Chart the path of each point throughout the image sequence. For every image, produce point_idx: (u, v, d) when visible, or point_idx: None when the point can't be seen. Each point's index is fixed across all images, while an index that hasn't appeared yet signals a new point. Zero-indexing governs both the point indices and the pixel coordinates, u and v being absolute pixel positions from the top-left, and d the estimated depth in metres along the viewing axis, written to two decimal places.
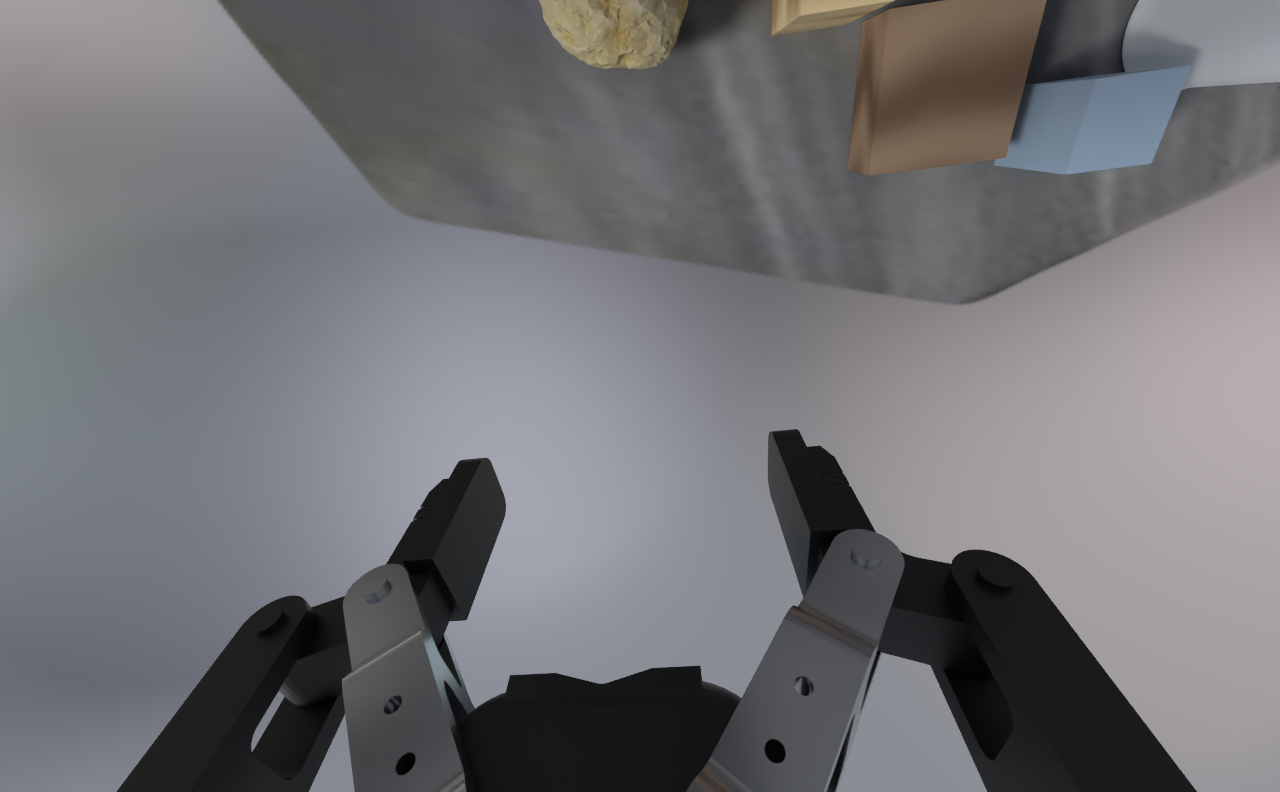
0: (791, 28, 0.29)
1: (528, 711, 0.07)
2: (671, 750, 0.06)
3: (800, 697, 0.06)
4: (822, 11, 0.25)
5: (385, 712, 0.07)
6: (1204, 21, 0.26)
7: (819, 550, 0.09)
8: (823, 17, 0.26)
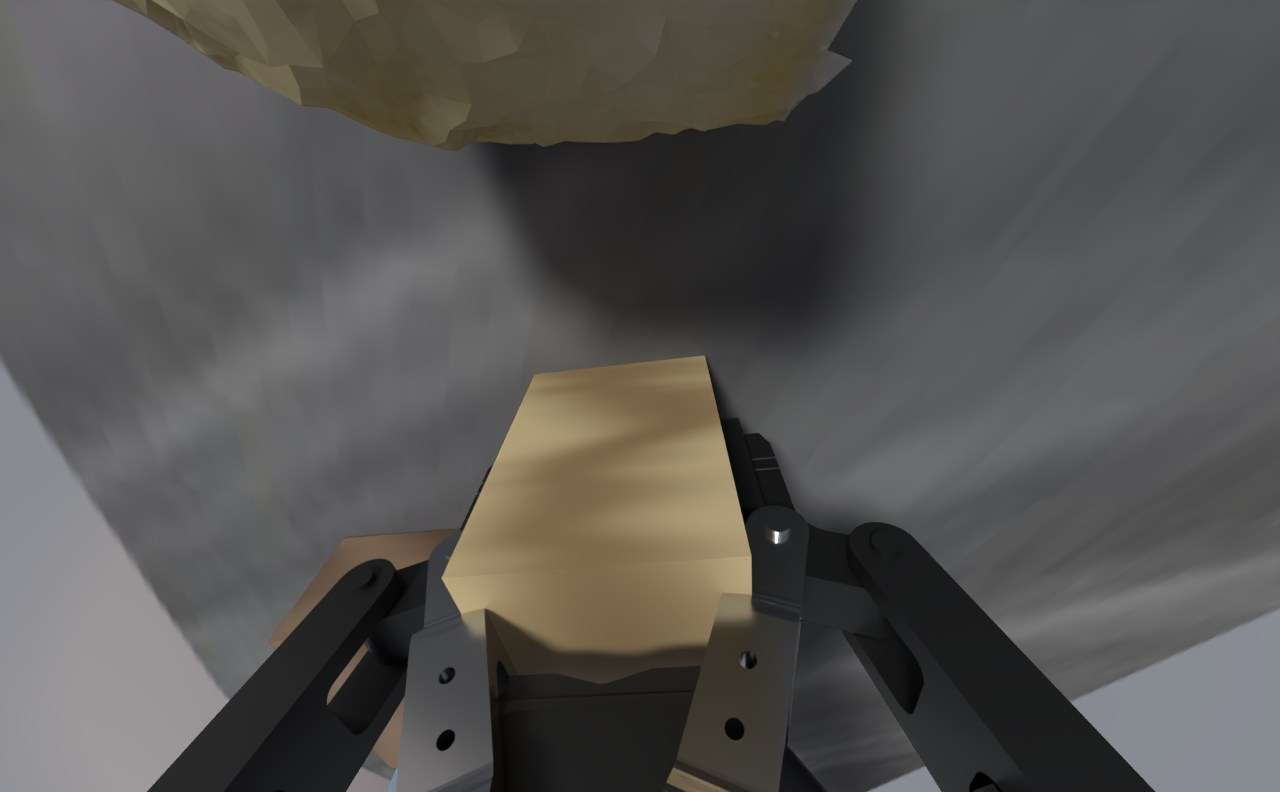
0: None
1: (528, 711, 0.07)
2: (671, 750, 0.06)
3: (747, 671, 0.06)
4: None
5: (439, 681, 0.07)
6: None
7: None
8: None
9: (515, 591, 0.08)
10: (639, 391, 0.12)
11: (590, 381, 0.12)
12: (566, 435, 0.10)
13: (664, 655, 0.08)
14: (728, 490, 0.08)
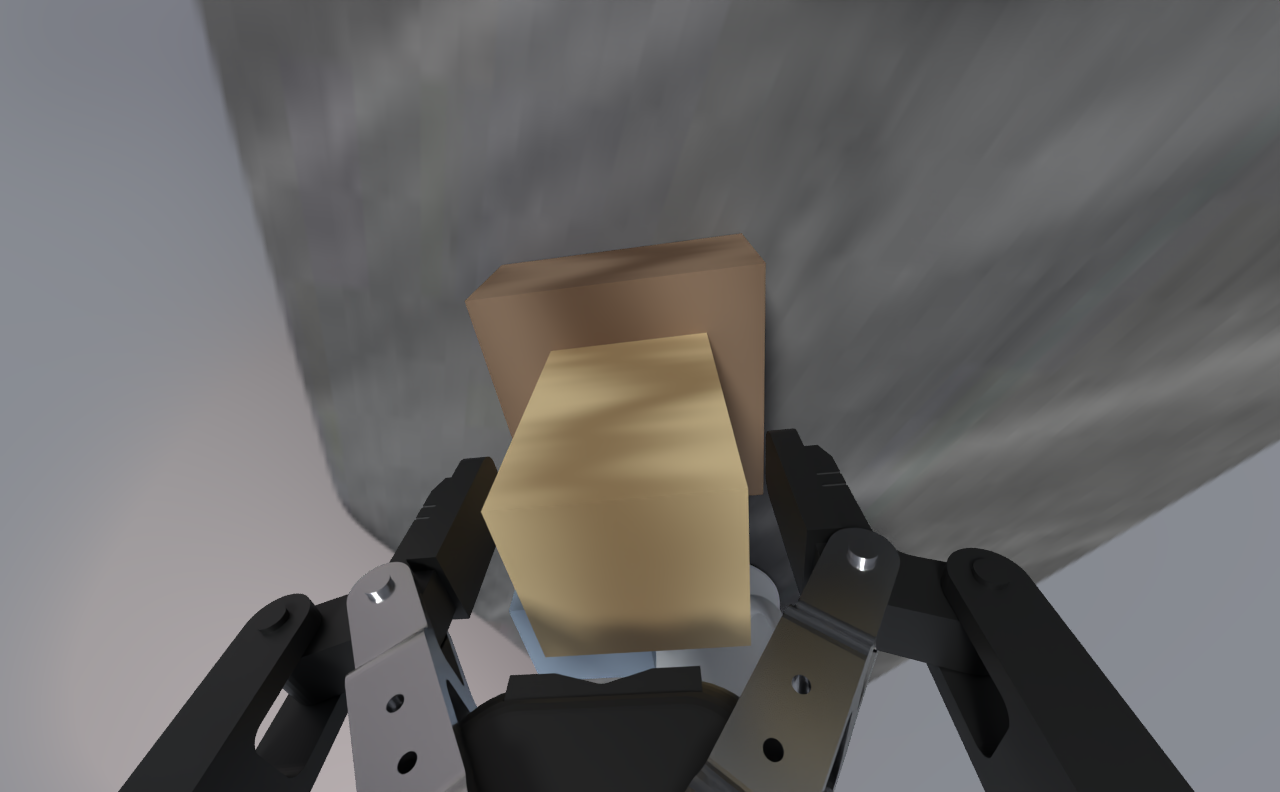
0: None
1: (528, 711, 0.07)
2: (671, 750, 0.06)
3: (797, 696, 0.06)
4: (502, 551, 0.09)
5: (387, 711, 0.07)
6: None
7: (816, 549, 0.09)
8: None
9: (544, 524, 0.09)
10: (647, 363, 0.13)
11: (602, 356, 0.14)
12: (583, 401, 0.12)
13: (672, 586, 0.10)
14: (728, 440, 0.09)
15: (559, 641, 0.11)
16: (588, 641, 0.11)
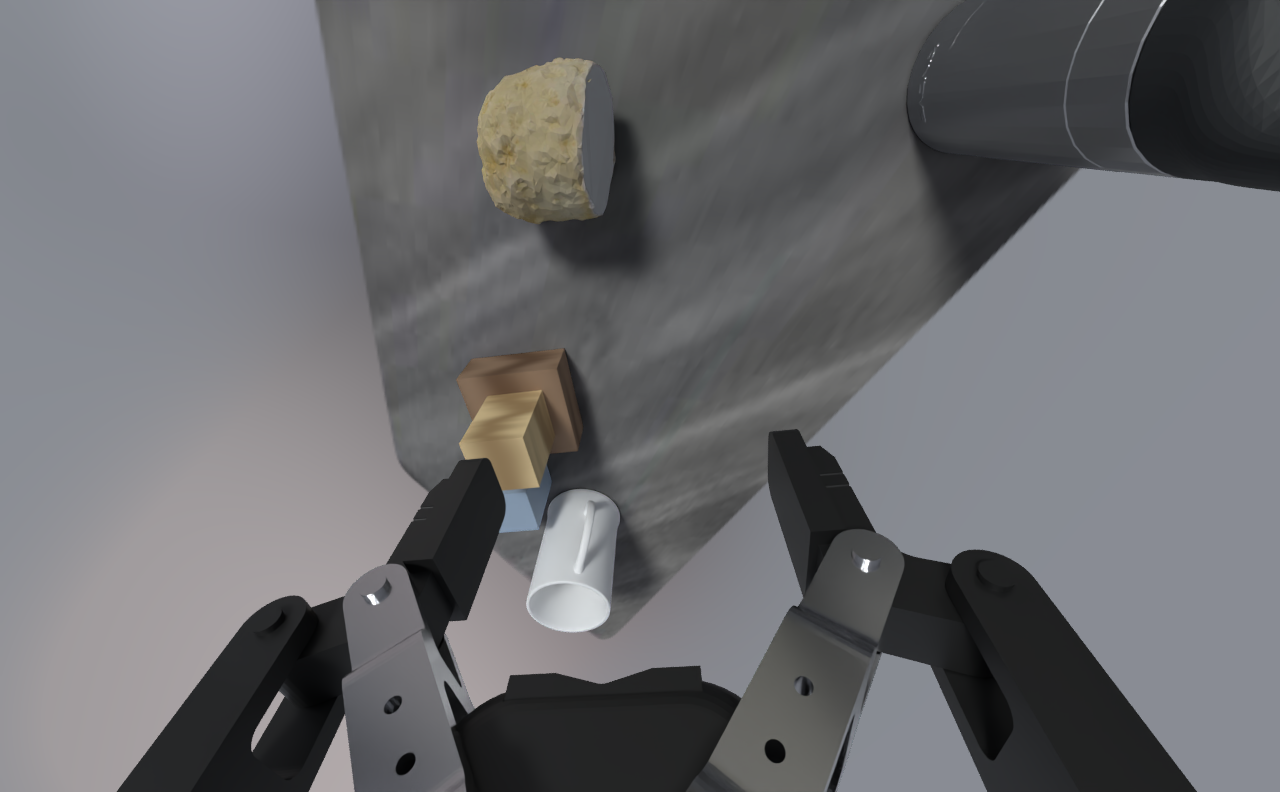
0: None
1: (528, 711, 0.07)
2: (671, 750, 0.06)
3: (800, 697, 0.06)
4: (464, 455, 0.35)
5: (385, 712, 0.07)
6: (565, 523, 0.47)
7: (819, 550, 0.09)
8: None
9: (475, 447, 0.34)
10: (516, 402, 0.39)
11: (504, 398, 0.39)
12: (492, 415, 0.37)
13: (511, 466, 0.35)
14: (525, 426, 0.35)
15: None
16: None
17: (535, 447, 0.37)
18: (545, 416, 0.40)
